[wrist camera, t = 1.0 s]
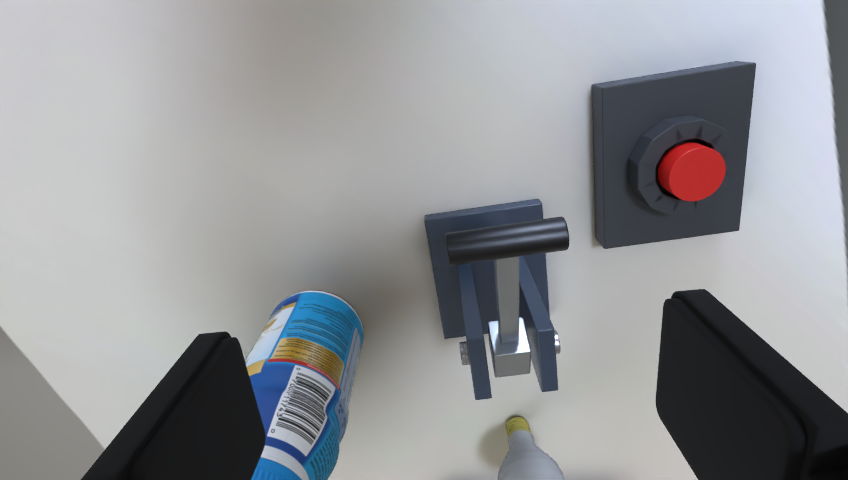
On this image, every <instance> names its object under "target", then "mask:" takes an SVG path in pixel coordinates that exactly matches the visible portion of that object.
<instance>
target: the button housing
mask: <svg viewBox="0 0 848 480" xmlns="http://www.w3.org/2000/svg"><path fill="white" fill-rule="evenodd" d="M755 69H756V63H750V62H738V61H735V62H729V63H723V64H717V65H710V66H704V67H698V68H692V69H685V70H679V71H673V72H667V73H661V74H654V75H648V76H642V77H636V78H629V79H623V80H617V81H611V82H604V83H598V84H593V85H592V100H593V145H594V191H595V236H596V239H597V240H598V242H599V243H600V244H601V245H602V247H603V248H604V249H608V248H615V247H623V246H630V245H637V244H645V243H652V242H659V241H667V240H674V239H681V238H688V237H696V236H703V235H710V234H718V233H725V232H732V231H739V226H740V216H741V206H742V196H743V186H744V177H745V167H746V157H747V147H748V137H749V127H750V118H751V108H752V98H753V88H754V78H755ZM686 142H695V143H699V144H701V145H704V146H706V147H709V148H711V149H714V150H715V151H717V152H718V153H719V154H720V155H721V156H722V157H723V159H724V161H725V166H726V172H725V177H724V179H723V182H722V183H721V185H720V186H719V188H718V189H717V190H716V191H715V192H714V193H713V194H711V195H710V196H708V197H706V198H704V199H702V200H698V201H685V200H682V199H679V198H678V197H676V196H675V195H673V194H672V193H670V192H669V191H667V190H666V189H664V188H663V187H662V185H661V184H660V182H659V179H658V167H659V164H660V161H661V159H662V158H663V156H664V155H665V154H666V153H667V152H668V151H669V150H670V149H671V148H673V147H675V146H676V145H679V144H681V143H686Z"/></svg>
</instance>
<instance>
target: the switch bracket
mask: <svg viewBox="0 0 848 480" xmlns="http://www.w3.org/2000/svg"><path fill="white" fill-rule="evenodd" d="M542 219H543V209H542V203H541V201H540V200H539V199H534V200H527V201H520V202H513V203H506V204H499V205H492V206H485V207H478V208H472V209H465V210H458V211H451V212H444V213H437V214H430V215H425V225H426V231H427V237H428V243H429V248H430V254H431V260H432V266H433V272H434V278H435V284H436V290H437V296H438V302H439V308H440V314H441V320H442V326H443V332H444V338H445V339H448V338H456V337H464V336H466V339H467V341H466V342H460V343H459V344H460V353H461V360H462V365H468V364H470V366H471V373H472V380H473V387H474V394H475V399H476V400H480V399H489V398H492V395H491V388H490V380H489V372H488V365H487V357H486V349H485V341H484V335H483V334H487V333H488V322H491V321H498V318H497V302H496V286H495V270H494V260H490V261H483V262H475V263H468V264H461V265H453V266H450V265H449V260H448V254H447V247H446V239H445V234H446V233H450V232H457V231H464V230H471V229H478V228H485V227H492V226H499V225H507V224H514V223H521V222H528V221H535V220H542ZM519 318H523V319H524V324H525V328H526V332H527V337H528V341H529V345H530V350H531V359H532V363H533V366H534V369H535V372H536V375H537V378H538V382H539V385H540V388H541V391H542V392H547V391H555V390H558V379H557V363H556V354H558V353H560V341H559V337H558V334H557V332H556V330H554V327H553V325H552V323H551V320H550V315H549V300H548V285H547V270H546V254H545V253H541V254H533V255H526V256H519Z"/></svg>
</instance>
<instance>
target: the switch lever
mask: <svg viewBox="0 0 848 480" xmlns="http://www.w3.org/2000/svg"><path fill="white" fill-rule="evenodd" d="M445 239H446V247H447V254H448V260H449V265H450V266H453V265H461V264H468V263H475V262H483V261H490V260H494V270H495V286H496V302H497V318H498V321H491V322H488V333H489V344H490V350H491V356H492V362H493V368H494V374H495V377H504V376H512V375H520V374H529V373H530V362H531V350H530V345H529V341H528V337H527V332H526V328H525V324H524V319H523V318H519V256H526V255H533V254H541V253H548V252H555V251H563V250H567V249H568V247H569V234H568V228H567V224H566V221H565V219H564V218H563V217H556V218H549V219H542V220H535V221H528V222H521V223H514V224H507V225H499V226H492V227H485V228H478V229H471V230H464V231H457V232H450V233H446V234H445Z"/></svg>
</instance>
